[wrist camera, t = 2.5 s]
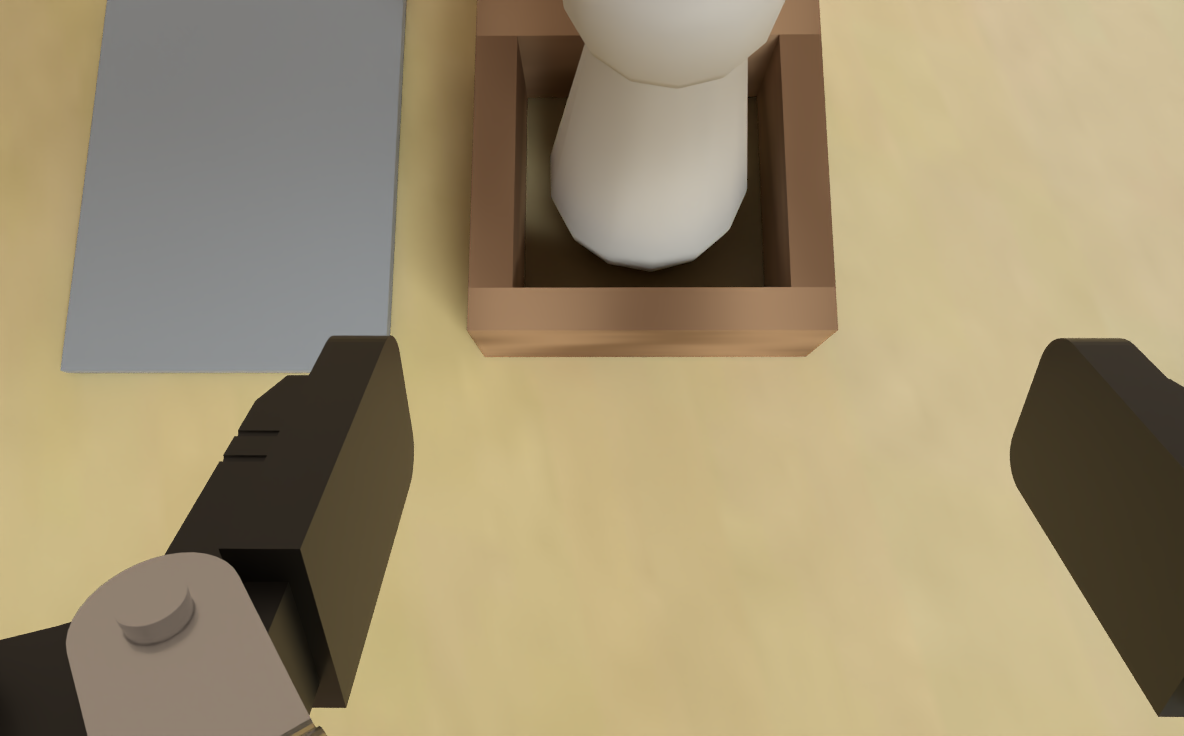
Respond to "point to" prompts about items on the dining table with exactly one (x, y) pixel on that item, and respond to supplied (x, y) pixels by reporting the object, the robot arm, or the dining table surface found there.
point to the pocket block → (649, 314)
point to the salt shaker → (657, 126)
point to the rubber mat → (237, 185)
